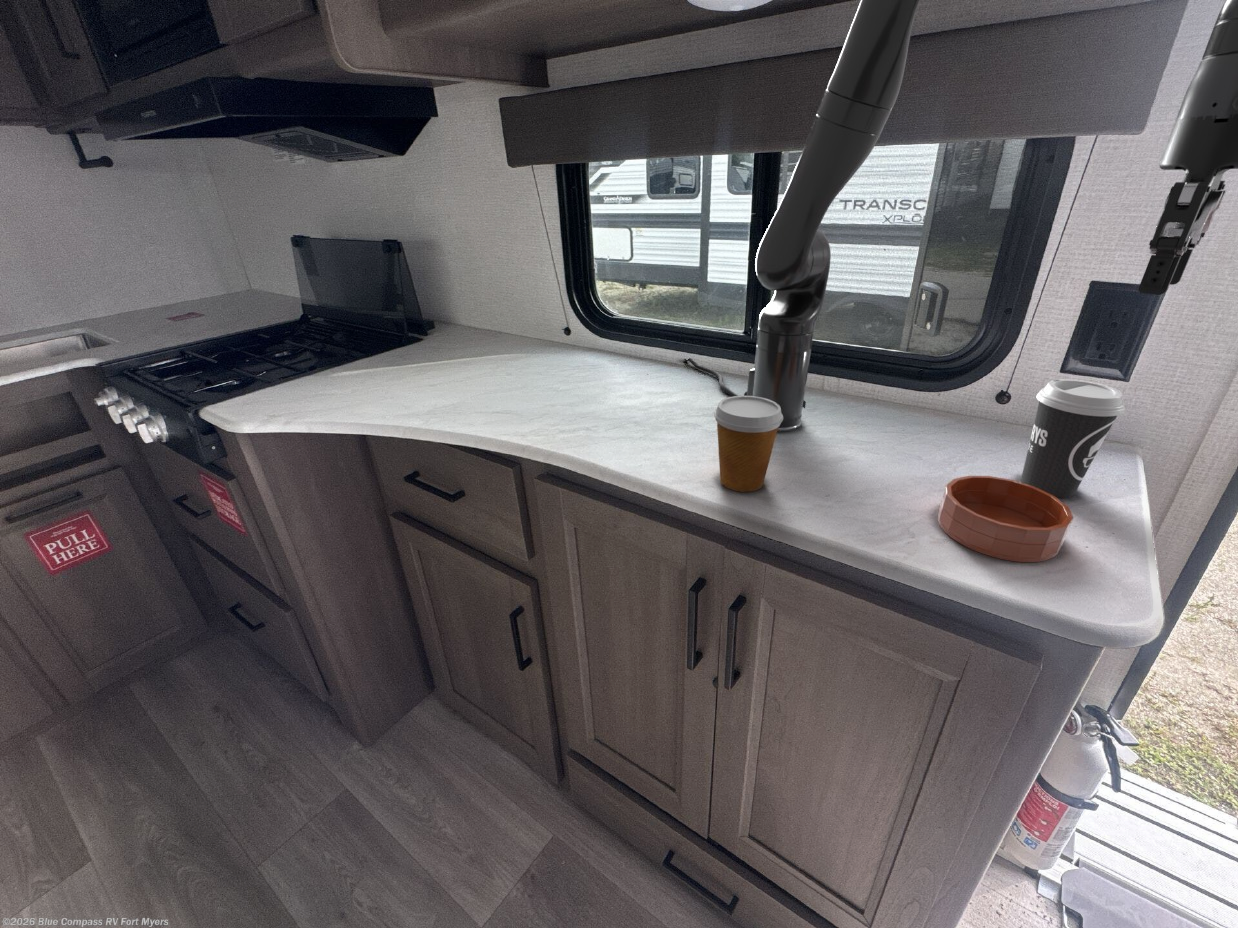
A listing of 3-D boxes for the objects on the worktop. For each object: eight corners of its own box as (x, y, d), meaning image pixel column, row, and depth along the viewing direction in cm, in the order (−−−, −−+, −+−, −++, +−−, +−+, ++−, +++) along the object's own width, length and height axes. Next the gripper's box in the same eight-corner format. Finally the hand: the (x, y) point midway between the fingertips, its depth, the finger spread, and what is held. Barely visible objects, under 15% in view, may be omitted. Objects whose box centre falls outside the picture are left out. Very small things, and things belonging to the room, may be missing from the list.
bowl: (920, 529, 72) (928, 498, 70) (960, 494, 80) (968, 466, 78) (1040, 577, 63) (1054, 543, 61) (1072, 532, 71) (1085, 501, 69)
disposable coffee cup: (783, 495, 80) (794, 417, 75) (717, 499, 80) (723, 420, 74) (763, 465, 89) (771, 393, 83) (703, 468, 88) (707, 395, 83)
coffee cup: (1055, 471, 86) (1091, 376, 79) (1105, 503, 78) (1150, 400, 71) (993, 472, 86) (1024, 377, 79) (1037, 504, 77) (1076, 401, 71)
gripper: (1187, 120, 61) (1128, 277, 68) (1165, 112, 52) (1099, 292, 60) (1289, 114, 56) (1213, 285, 63) (1282, 104, 47) (1195, 302, 54)
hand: (1158, 288), depth 61 cm, fingers open, 8 cm apart
